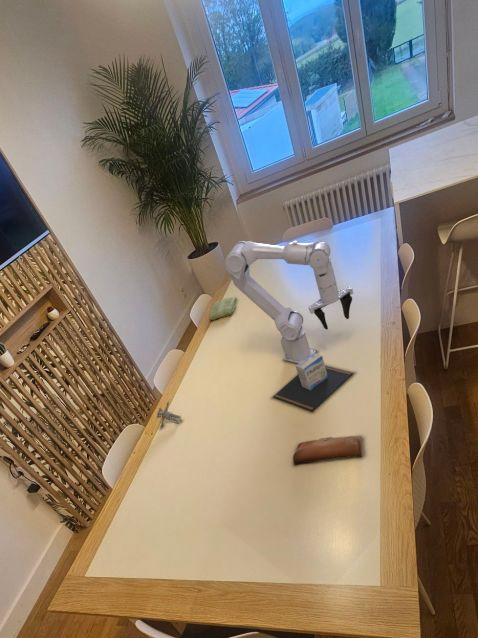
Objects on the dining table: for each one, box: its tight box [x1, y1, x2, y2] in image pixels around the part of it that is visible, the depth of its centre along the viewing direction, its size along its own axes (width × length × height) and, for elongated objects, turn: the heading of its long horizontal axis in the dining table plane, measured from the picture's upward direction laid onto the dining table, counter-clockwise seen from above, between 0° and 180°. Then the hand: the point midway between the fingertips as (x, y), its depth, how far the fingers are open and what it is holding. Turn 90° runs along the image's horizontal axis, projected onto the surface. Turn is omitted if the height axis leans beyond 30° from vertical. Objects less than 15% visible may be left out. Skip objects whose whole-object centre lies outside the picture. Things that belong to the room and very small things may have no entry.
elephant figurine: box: [156, 401, 182, 429], centre depth 150 cm, size 10×6×9 cm
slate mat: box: [272, 365, 354, 413], centre depth 136 cm, size 18×20×1 cm
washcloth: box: [209, 296, 238, 321], centre depth 204 cm, size 13×18×3 cm
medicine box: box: [295, 353, 328, 390], centre depth 133 cm, size 8×4×9 cm, turn 122°
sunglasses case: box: [292, 435, 363, 465], centre depth 111 cm, size 18×7×7 cm
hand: (336, 323), depth 137 cm, fingers open, 7 cm apart
